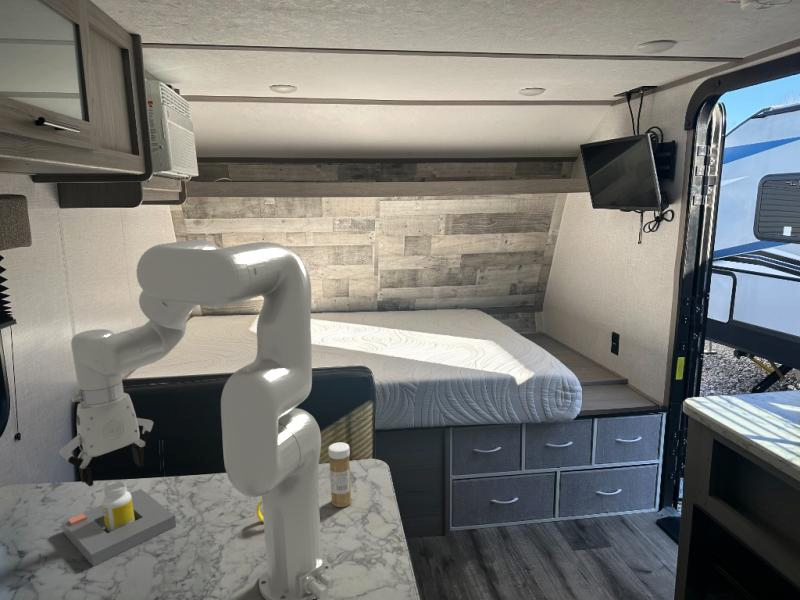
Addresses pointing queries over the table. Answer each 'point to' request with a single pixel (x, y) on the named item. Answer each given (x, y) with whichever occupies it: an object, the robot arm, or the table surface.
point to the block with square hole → (107, 545)
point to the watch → (259, 512)
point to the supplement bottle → (117, 506)
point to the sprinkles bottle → (340, 474)
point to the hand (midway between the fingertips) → (114, 473)
